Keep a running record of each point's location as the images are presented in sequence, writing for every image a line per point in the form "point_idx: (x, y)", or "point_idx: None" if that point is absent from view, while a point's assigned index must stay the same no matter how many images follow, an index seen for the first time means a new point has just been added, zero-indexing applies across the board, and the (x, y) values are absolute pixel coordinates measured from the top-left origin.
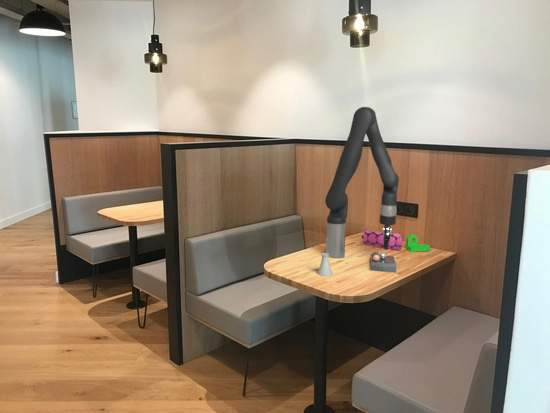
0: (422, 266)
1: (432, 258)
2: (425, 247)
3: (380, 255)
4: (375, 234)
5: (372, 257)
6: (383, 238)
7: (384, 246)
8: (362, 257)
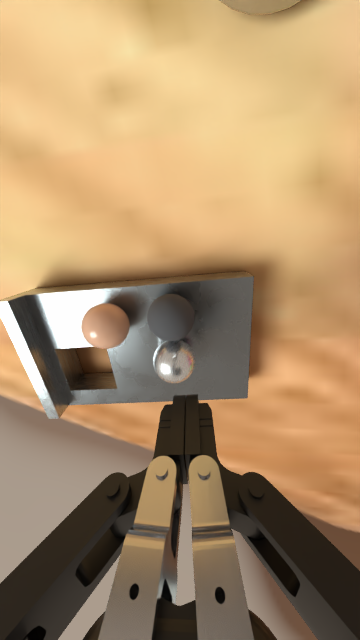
0: None
1: (298, 491)
2: None
3: (158, 350)
4: None
5: (189, 291)
6: (240, 478)
7: (160, 420)
8: (291, 210)
